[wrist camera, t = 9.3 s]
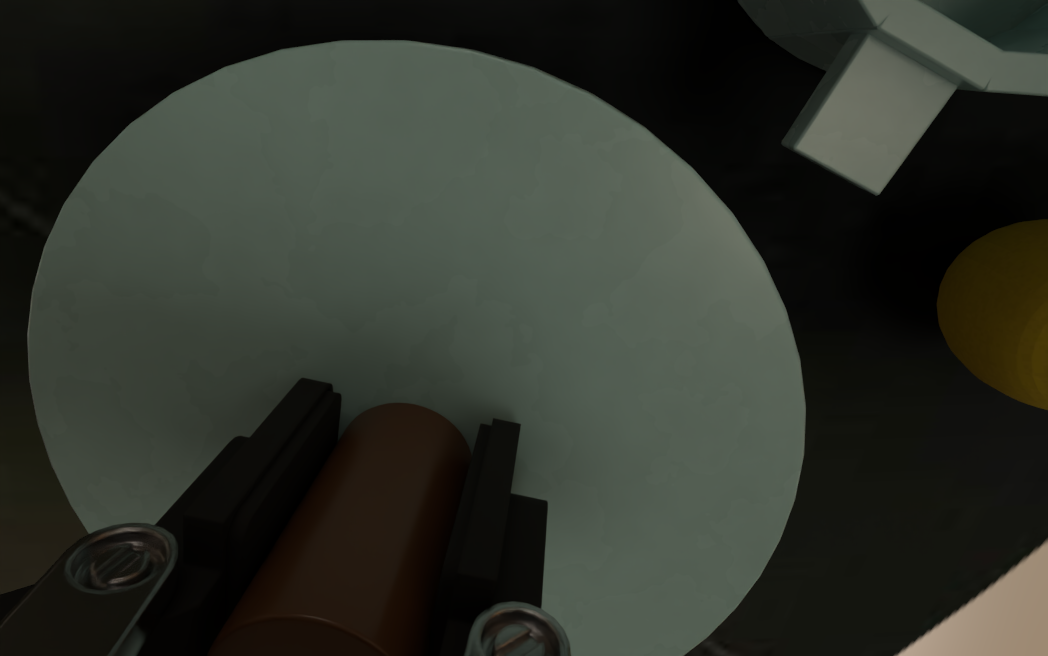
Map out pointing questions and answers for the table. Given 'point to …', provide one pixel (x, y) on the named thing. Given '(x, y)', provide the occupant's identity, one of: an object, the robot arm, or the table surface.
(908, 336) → the table surface
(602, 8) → the table surface
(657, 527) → the lid
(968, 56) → the pot
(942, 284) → the lemon
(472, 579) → the robot arm
